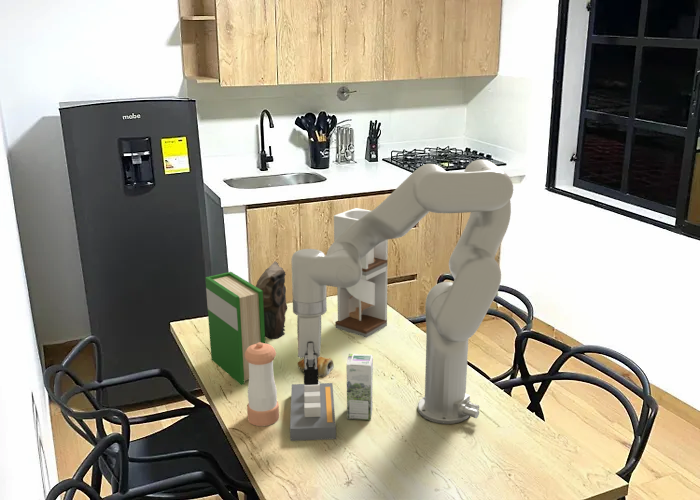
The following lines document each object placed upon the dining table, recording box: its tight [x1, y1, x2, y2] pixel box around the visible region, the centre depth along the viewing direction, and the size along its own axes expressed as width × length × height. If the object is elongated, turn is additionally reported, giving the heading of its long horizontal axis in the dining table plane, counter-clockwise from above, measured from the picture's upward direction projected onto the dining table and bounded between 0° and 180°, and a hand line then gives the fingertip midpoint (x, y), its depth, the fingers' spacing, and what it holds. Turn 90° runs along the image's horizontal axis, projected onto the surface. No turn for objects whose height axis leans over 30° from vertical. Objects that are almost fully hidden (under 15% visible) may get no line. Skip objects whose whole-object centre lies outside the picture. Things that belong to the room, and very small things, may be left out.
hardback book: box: [205, 271, 266, 386], centre depth 186 cm, size 18×7×24 cm, turn 35°
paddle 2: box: [304, 403, 321, 417], centre depth 160 cm, size 1×4×3 cm, turn 93°
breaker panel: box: [289, 382, 337, 442], centre depth 166 cm, size 20×10×3 cm, turn 3°
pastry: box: [296, 356, 335, 377], centre depth 189 cm, size 9×7×4 cm
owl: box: [255, 260, 288, 340], centre depth 209 cm, size 13×13×20 cm
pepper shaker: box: [245, 342, 280, 427], centre depth 163 cm, size 7×7×19 cm
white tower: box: [333, 207, 389, 338], centre depth 209 cm, size 11×11×35 cm
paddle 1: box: [304, 380, 321, 392], centre depth 170 cm, size 1×4×3 cm, turn 94°
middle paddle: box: [304, 392, 320, 403], centre depth 165 cm, size 1×4×3 cm, turn 94°
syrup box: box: [346, 353, 374, 421], centre depth 165 cm, size 6×6×14 cm
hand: (311, 373), depth 163 cm, fingers open, 9 cm apart
